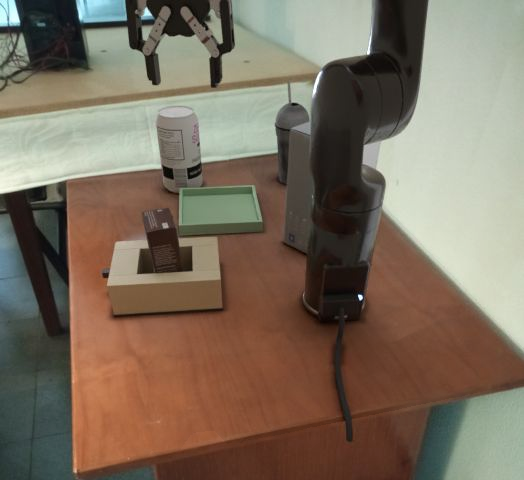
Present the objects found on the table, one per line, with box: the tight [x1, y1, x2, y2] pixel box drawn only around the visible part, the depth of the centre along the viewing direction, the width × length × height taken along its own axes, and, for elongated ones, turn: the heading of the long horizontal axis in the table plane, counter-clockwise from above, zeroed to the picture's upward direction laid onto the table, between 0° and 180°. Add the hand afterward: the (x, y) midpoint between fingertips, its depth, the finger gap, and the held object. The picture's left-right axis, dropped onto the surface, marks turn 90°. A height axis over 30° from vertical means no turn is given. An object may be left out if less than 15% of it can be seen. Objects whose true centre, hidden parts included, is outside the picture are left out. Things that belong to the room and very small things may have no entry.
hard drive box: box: [282, 121, 382, 255], centre depth 84 cm, size 16×8×20 cm, turn 136°
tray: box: [178, 184, 264, 237], centre depth 95 cm, size 15×15×2 cm
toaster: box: [101, 236, 224, 318], centre depth 76 cm, size 12×18×6 cm
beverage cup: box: [274, 77, 310, 185], centre depth 101 cm, size 7×7×20 cm
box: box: [141, 207, 183, 273], centre depth 74 cm, size 6×4×12 cm
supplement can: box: [154, 105, 204, 194], centre depth 100 cm, size 8×8×15 cm
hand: (185, 85), depth 71 cm, fingers open, 8 cm apart
